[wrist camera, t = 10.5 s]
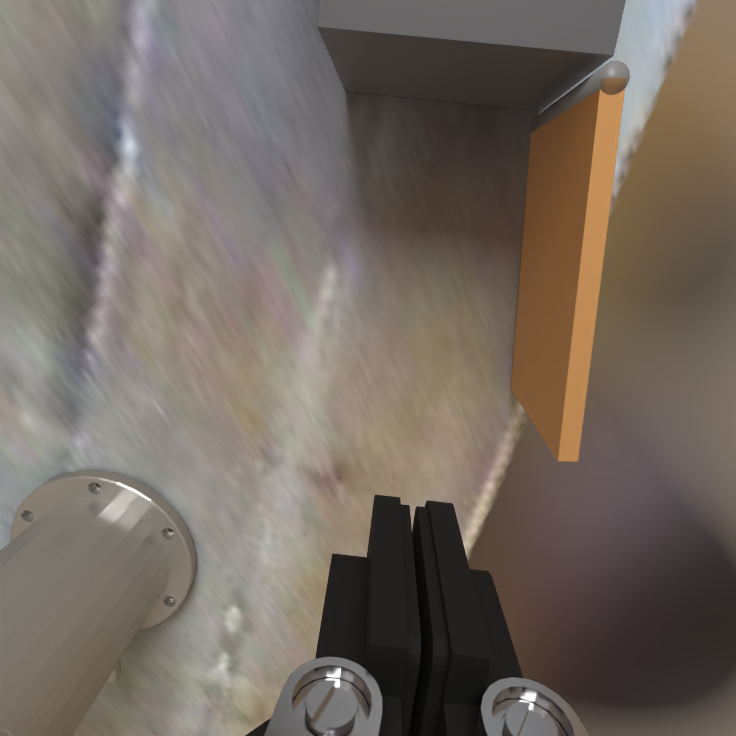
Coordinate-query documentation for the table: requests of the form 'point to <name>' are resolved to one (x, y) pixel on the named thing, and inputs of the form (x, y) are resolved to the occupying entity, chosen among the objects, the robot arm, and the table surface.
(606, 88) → the side door
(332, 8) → the grey box with knob
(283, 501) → the table surface
